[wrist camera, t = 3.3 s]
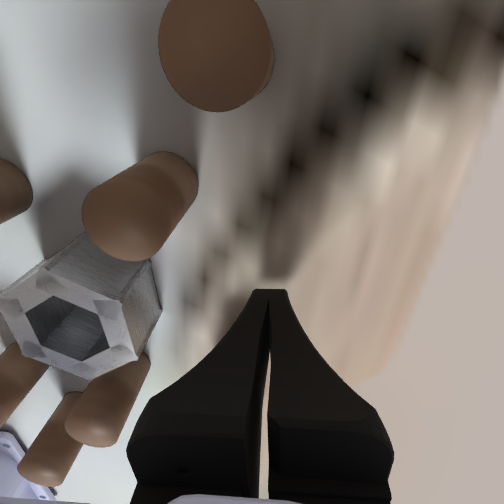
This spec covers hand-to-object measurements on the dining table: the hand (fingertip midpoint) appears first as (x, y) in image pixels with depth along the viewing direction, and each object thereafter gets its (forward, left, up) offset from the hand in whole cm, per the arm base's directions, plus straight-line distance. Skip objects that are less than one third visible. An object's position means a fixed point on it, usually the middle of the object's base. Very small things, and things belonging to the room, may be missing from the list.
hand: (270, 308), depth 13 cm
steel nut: (0, +8, -1) cm, 8 cm away
